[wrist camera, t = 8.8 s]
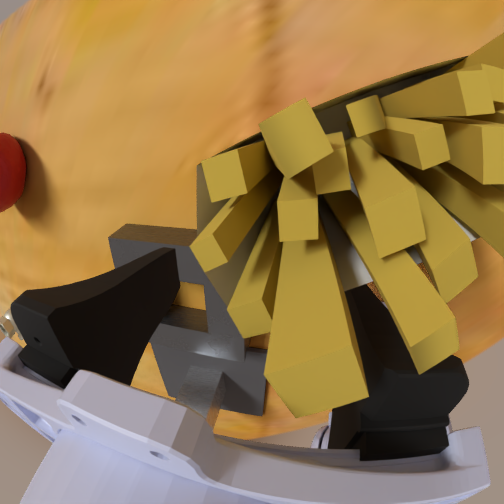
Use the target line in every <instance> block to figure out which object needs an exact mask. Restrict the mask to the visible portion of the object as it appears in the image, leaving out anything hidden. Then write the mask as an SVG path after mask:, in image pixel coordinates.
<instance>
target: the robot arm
mask: <svg viewBox="0 0 504 504" xmlns="http://www.w3.org/2000/svg"><path fill="white" fill-rule="evenodd" d="M179 288H180V280H179V273H178V266H177V258H176V250H175V248H167V247H162V248H159V249H157V250H154V251H152V252H150V253H148V254H146V255H144V256H142V257H139V258H137V259H135V260H133V261H131V262H129V263H127V264H125V265H123V266H120V267H118V268H116V269H114V270H111V271H109V272H107V273H104V274H102V275H99V276H96V277H93V278H90V279H87V280H83V281H80V282H76V283H72V284H68V285H64V286H58V287H52V288H45V289H34V290H26V291H25V292H23V293H22V294H21V295H20V296H19V297H18V298H17V299H16V300H15V301H14V302H13V303H12V304H11V314H12V318H13V320H14V322H15V324H16V326H17V328H18V330H19V331H20V333H21V335H22V337H23V339H24V340H25V342H26V344H27V345H26V346H25V347H24V348H22V347H21V346H20V345H19V344H18V343H17V342H15V341H13V340H12V339H10V338H9V337H5V338H4V340H3V341H2V342H1V343H0V399H1V400H2V402H3V403H4V404H5V405H6V406H7V407H8V408H9V409H11V410H12V411H13V412H14V413H15V414H17V415H18V416H19V417H20V418H21V419H22V420H24V421H25V422H26V423H27V424H29V425H30V426H31V427H32V428H34V429H35V430H36V431H37V432H39V433H40V434H41V435H43V436H44V437H45V438H47V439H48V440H49V441H51V442H52V443H53V444H52V446H51V447H50V449H49V451H48V452H47V454H46V456H45V458H44V459H43V461H42V463H41V465H40V466H39V468H38V470H37V472H36V474H35V475H34V477H33V479H32V481H31V483H30V484H29V486H28V488H27V490H26V492H25V494H24V496H23V498H22V499H21V502H20V503H19V504H457V503H459V502H460V501H462V500H464V499H467V498H469V497H470V496H472V495H474V494H476V493H478V492H479V491H481V490H483V489H485V488H487V487H488V486H489V485H490V476H489V469H488V464H487V458H486V452H485V448H484V443H483V439H482V434H481V430H480V427H479V426H475V427H471V428H466V429H460V430H456V431H452V426H451V422H450V418H449V413H450V412H451V411H452V410H453V409H454V407H455V406H456V405H457V404H458V403H459V402H460V400H461V399H462V398H463V396H464V395H465V394H466V392H467V390H468V387H469V379H468V377H467V374H466V371H465V368H464V365H463V363H462V361H461V359H460V358H458V357H456V356H454V355H450V356H449V357H447V358H446V359H444V360H443V361H441V362H439V363H438V364H436V365H435V366H433V367H432V368H430V369H428V370H427V371H425V372H423V373H422V374H420V375H419V373H418V371H417V369H416V367H415V364H414V362H413V360H412V358H411V355H410V353H409V351H408V349H407V347H406V345H405V342H404V340H403V338H402V336H401V334H400V332H399V330H398V328H397V326H396V324H395V322H394V320H393V318H392V316H391V314H390V312H389V310H388V308H387V306H386V304H385V302H381V301H380V300H379V299H378V298H377V297H376V295H375V294H374V293H373V292H372V291H371V289H370V288H369V287H368V286H367V284H364V285H361V286H358V287H355V288H353V289H350V290H347V291H344V292H345V296H346V300H347V303H348V307H349V311H350V315H351V319H352V322H353V326H354V330H355V335H356V339H357V343H358V347H359V351H360V356H361V360H362V365H363V369H364V374H365V379H366V384H367V389H368V394H369V397H367V398H364V399H361V400H358V401H355V402H352V403H349V404H346V405H343V406H339V407H336V408H333V409H332V412H330V413H329V425H327V426H324V427H321V428H320V429H319V430H318V431H317V433H316V435H315V437H314V439H313V441H312V444H311V447H310V448H304V447H293V446H283V445H275V444H267V443H261V442H254V441H248V440H243V439H237V438H232V437H227V436H222V435H218V434H213V430H212V428H211V427H210V425H209V424H208V422H207V421H206V420H205V418H204V417H203V416H202V415H201V414H199V413H197V412H196V411H194V410H193V409H191V408H190V407H188V406H186V405H184V404H181V403H179V402H176V401H174V400H171V399H169V398H166V397H162V396H159V395H156V394H153V393H150V392H146V391H143V390H140V389H137V388H135V387H132V386H130V385H131V382H132V379H133V376H134V374H135V371H136V369H137V366H138V364H139V361H140V359H141V357H142V355H143V352H144V350H145V348H146V346H147V344H148V342H149V340H150V338H151V337H152V335H153V334H154V332H155V330H156V329H157V327H158V326H159V324H160V322H161V321H162V319H163V318H164V316H165V315H166V313H167V311H168V310H169V308H170V307H171V305H172V303H173V301H174V299H175V297H176V295H177V292H178V290H179Z"/></svg>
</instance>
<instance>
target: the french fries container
mask: <svg viewBox="0 0 504 504" xmlns="http://www.w3.org/2000/svg"><path fill="white" fill-rule="evenodd" d="M259 127H260V130H261V132H259V133H257V134H255V135H253V136H251V137H249V138H247V139H245V140H243V141H241V142H239V143H237V144H235V145H233V146H231V147H229V148H228V149H226V150H224V151H222V152H220V153H218V154H216V155H215V156H213V157H211V158H208V159H206V160H203V161H201V163H200V164H199V165H197V238H196V239H195V240H194V242H193V243H192V244H191V245H190V246H189V247H190V248H191V250H192V252H193V253H194V255H195V257H196V259H197V260H198V263H199V265H200V267H201V268H202V270H203V271H204V273H205V274H206V276H207V277H208V279H209V280H210V282H211V283H212V285H213V286H214V288H215V289H216V291H217V292H218V294H219V295H220V297H221V298H222V300H223V301H224V303H225V304H226V306H227V307H228V308H227V311H228V313H229V315H230V316H231V318H232V320H233V321H234V323H235V325H236V327H237V328H238V330H239V332H240V333H241V335H242V337H243V339H244V338H248V337H253V336H257V335H261V334H265V333H269V332H271V333H270V339H269V345H268V352H267V358H266V364H265V370H264V376H265V377H266V379H267V380H268V382H269V383H270V384H271V386H272V387H273V388H274V390H275V391H276V393H277V394H278V395H279V397H280V398H281V399H282V401H283V402H284V403H285V405H286V406H287V407H288V409H289V410H290V411H291V413H292V414H293V415H294V416H295V418H299V417H303V416H307V415H311V414H315V413H319V412H322V411H326V410H329V409H333V408H336V407H339V406H343V405H346V404H349V403H352V402H355V401H358V400H361V399H364V398H367V397H369V394H368V389H367V384H366V379H365V374H364V369H363V365H362V360H361V356H360V351H359V347H358V343H357V339H356V335H355V330H354V326H353V322H352V319H351V315H350V311H349V307H348V303H347V300H346V296H345V292H344V291H347V290H350V289H353V288H355V287H358V286H361V285H364V284H367V283H369V282H372V281H373V282H374V284H375V285H376V287H377V289H378V291H379V293H380V295H381V297H382V298H383V300H384V302H385V304H386V306H387V308H388V310H389V312H390V314H391V316H392V318H393V320H394V322H395V324H396V326H397V328H398V330H399V332H400V334H401V336H402V338H403V340H404V342H405V345H406V347H407V349H408V351H409V353H410V355H411V358H412V360H413V362H414V364H415V367H416V369H417V371H418V373H419V375H420V374H422V373H423V372H425V371H427V370H428V369H430V368H432V367H433V366H435V365H436V364H438V363H439V362H441V361H443V360H444V359H446V358H447V357H449V356H450V355H452V354H453V353H455V352H456V351H458V350H459V340H458V332H457V324H456V318H455V316H454V315H453V313H452V312H451V310H450V309H449V307H448V306H447V304H446V303H448V302H449V301H450V300H451V299H453V298H454V297H455V296H456V295H458V294H459V293H460V292H461V291H462V290H464V289H465V288H466V287H467V286H468V285H469V284H470V283H472V282H473V281H474V280H475V279H476V278H477V277H478V273H477V268H476V263H475V258H474V254H473V249H472V245H471V241H473V240H475V239H478V238H480V237H482V238H483V239H484V240H485V241H486V242H487V243H488V244H489V245H491V246H492V247H493V248H494V249H495V250H496V251H497V252H498V253H499V254H500V255H501V256H502V257H503V258H504V33H503V34H501V35H499V36H498V37H496V38H495V39H493V40H492V41H490V42H489V43H487V44H486V45H484V46H483V47H481V48H480V49H478V50H477V51H475V52H474V53H473V54H471V55H470V56H465V57H461V58H457V59H453V60H449V61H445V62H441V63H437V64H434V65H430V66H427V67H423V68H420V69H416V70H413V71H410V72H407V73H403V74H400V75H397V76H394V77H391V78H388V79H385V80H382V81H380V82H377V83H374V84H371V85H368V86H366V87H363V88H360V89H358V90H355V91H352V92H350V93H347V94H345V95H342V96H340V97H337V98H335V99H332V100H330V101H327V102H325V103H322V104H320V105H318V106H315V107H313V108H311V107H310V105H309V103H308V101H307V100H306V98H303V99H302V100H300V101H298V102H296V103H294V104H292V105H291V106H289V107H287V108H285V109H283V110H282V111H280V112H278V113H276V114H275V115H273V116H271V117H270V118H268V119H266V120H264V121H263V122H261V123H259ZM422 262H423V264H424V266H425V268H426V270H427V272H428V274H429V276H430V278H431V280H432V282H433V284H434V286H435V288H436V289H435V288H434V286H433V285H432V284H431V282H430V281H429V280H428V278H427V277H426V276H425V275H424V273H423V272H422V271H421V269H420V268H419V267H418V266H417V264H419V263H422ZM436 290H437V291H436Z"/></svg>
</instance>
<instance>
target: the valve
mask: <svg viewBox="0 0 504 504" xmlns="http://www.w3.org/2000/svg"><path fill="white" fill-rule="evenodd" d="M0 329H1V331H2V332H3V333H4V335H5V336H7V337H9V338H11V337H12V336H13V335H14V334H15V331H16V332H17V333H18V334H19V335H18V337H19V338H20V339H21V340H23V337H22V335H21V333H20V331H19V330H18V328H17V326H16V324H15V322H14V320H13V318H12V314H11V308H10V309H8V310H7V311H6V313H5V315H4V317H3V316H2V317H1V318H0Z"/></svg>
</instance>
